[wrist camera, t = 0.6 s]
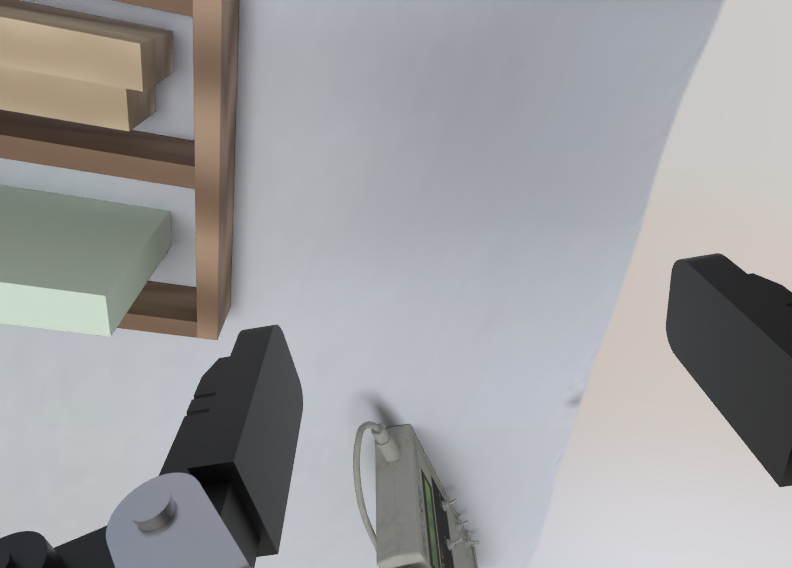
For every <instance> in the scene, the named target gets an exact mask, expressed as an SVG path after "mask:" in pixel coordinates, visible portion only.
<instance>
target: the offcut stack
mask: <svg viewBox="0 0 792 568" xmlns="http://www.w3.org/2000/svg"><path fill="white" fill-rule="evenodd" d="M173 73H174V62H173V32H172V31H171V30H166V29H160V28H155V27H150V26H145V25H140V24H135V23H130V22H125V21H120V20H115V19H110V18H105V17H100V16H95V15H90V14H85V13H80V12H75V11H70V10H65V9H60V8H55V7H50V6H45V5H40V4H34V3H29V2H24V1H19V0H0V109H1V110H7V111H13V112H19V113H24V114H30V115H36V116H42V117H48V118H54V119H59V120H65V121H71V122H77V123H83V124H89V125H94V126H100V127H106V128H112V129H118V130H124V131H130V130H132V129H133V128H135V127H136V126H137V125H139V124H140V123H141V122H143V121H144V120H145V119H147V118H148V117H149V116H151V115H152V114H153V113H155V112H156V103H155V84H156V83H158V82H159V81H161V80H163V79H164V78H166V77H168V76H169V75H171V74H173Z"/></svg>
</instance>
